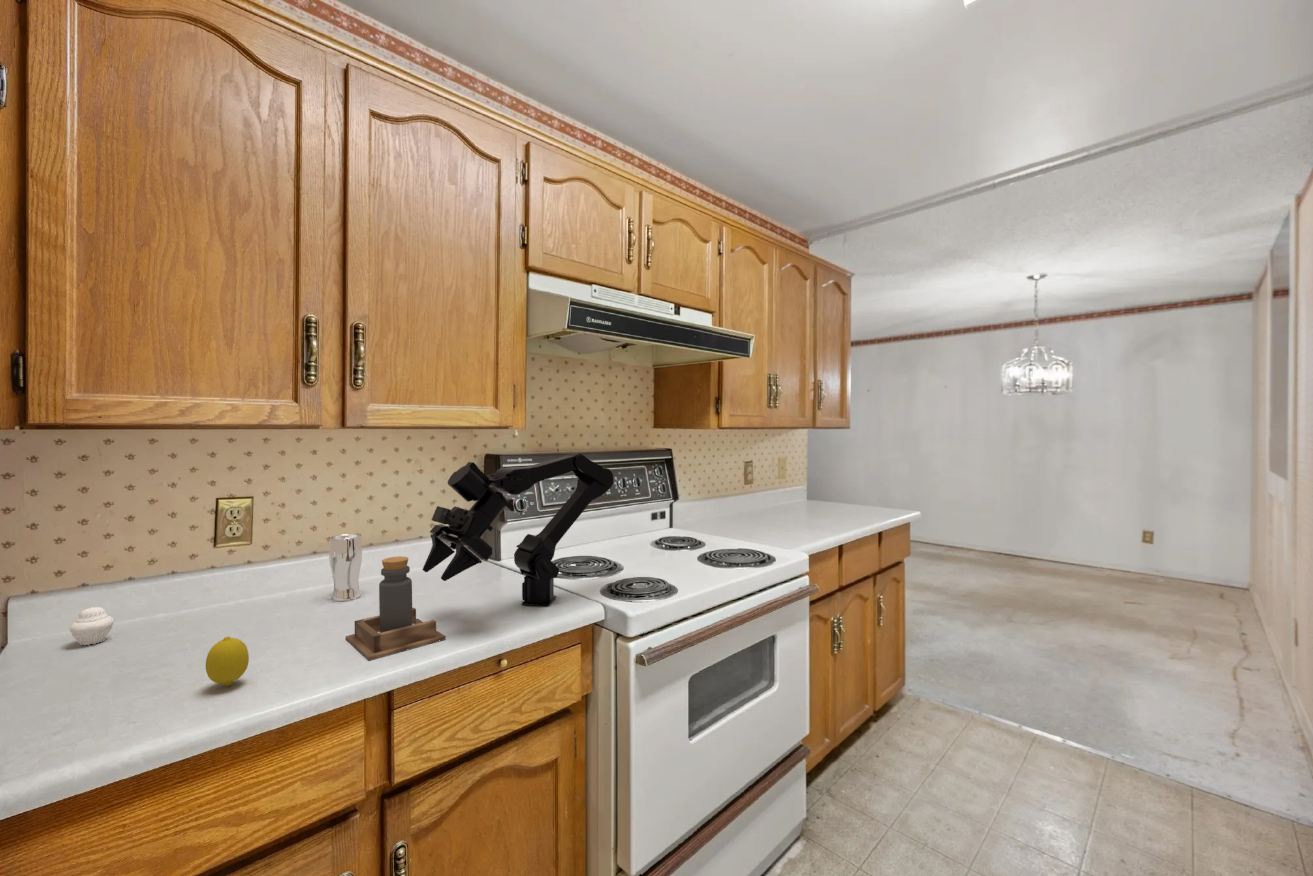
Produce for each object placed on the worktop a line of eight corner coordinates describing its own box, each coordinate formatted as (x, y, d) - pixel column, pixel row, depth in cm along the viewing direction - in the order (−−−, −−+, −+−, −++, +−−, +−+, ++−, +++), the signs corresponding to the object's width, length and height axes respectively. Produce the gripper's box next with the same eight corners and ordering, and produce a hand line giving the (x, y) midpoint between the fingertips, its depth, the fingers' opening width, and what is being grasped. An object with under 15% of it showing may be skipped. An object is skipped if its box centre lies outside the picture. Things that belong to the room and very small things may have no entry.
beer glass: (368, 596, 137) (367, 535, 137) (339, 603, 131) (338, 540, 131) (353, 591, 141) (351, 532, 140) (324, 599, 135) (323, 537, 134)
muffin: (87, 638, 111) (86, 603, 110) (122, 635, 112) (121, 601, 112) (60, 650, 105) (59, 613, 104) (98, 647, 106) (97, 611, 106)
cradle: (417, 621, 119) (417, 604, 119) (445, 639, 109) (445, 621, 109) (345, 639, 109) (345, 621, 109) (368, 660, 99) (368, 640, 99)
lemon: (221, 678, 92) (220, 631, 92) (257, 677, 93) (256, 630, 93) (197, 695, 87) (196, 644, 87) (234, 693, 87) (233, 643, 87)
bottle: (409, 639, 107) (408, 561, 107) (376, 641, 106) (374, 563, 106) (415, 628, 113) (414, 554, 113) (384, 630, 112) (382, 556, 111)
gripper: (437, 488, 124) (387, 545, 117) (476, 495, 111) (422, 561, 103) (472, 518, 130) (425, 575, 123) (513, 529, 116) (463, 593, 109)
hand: (433, 575), depth 114 cm, fingers open, 9 cm apart
